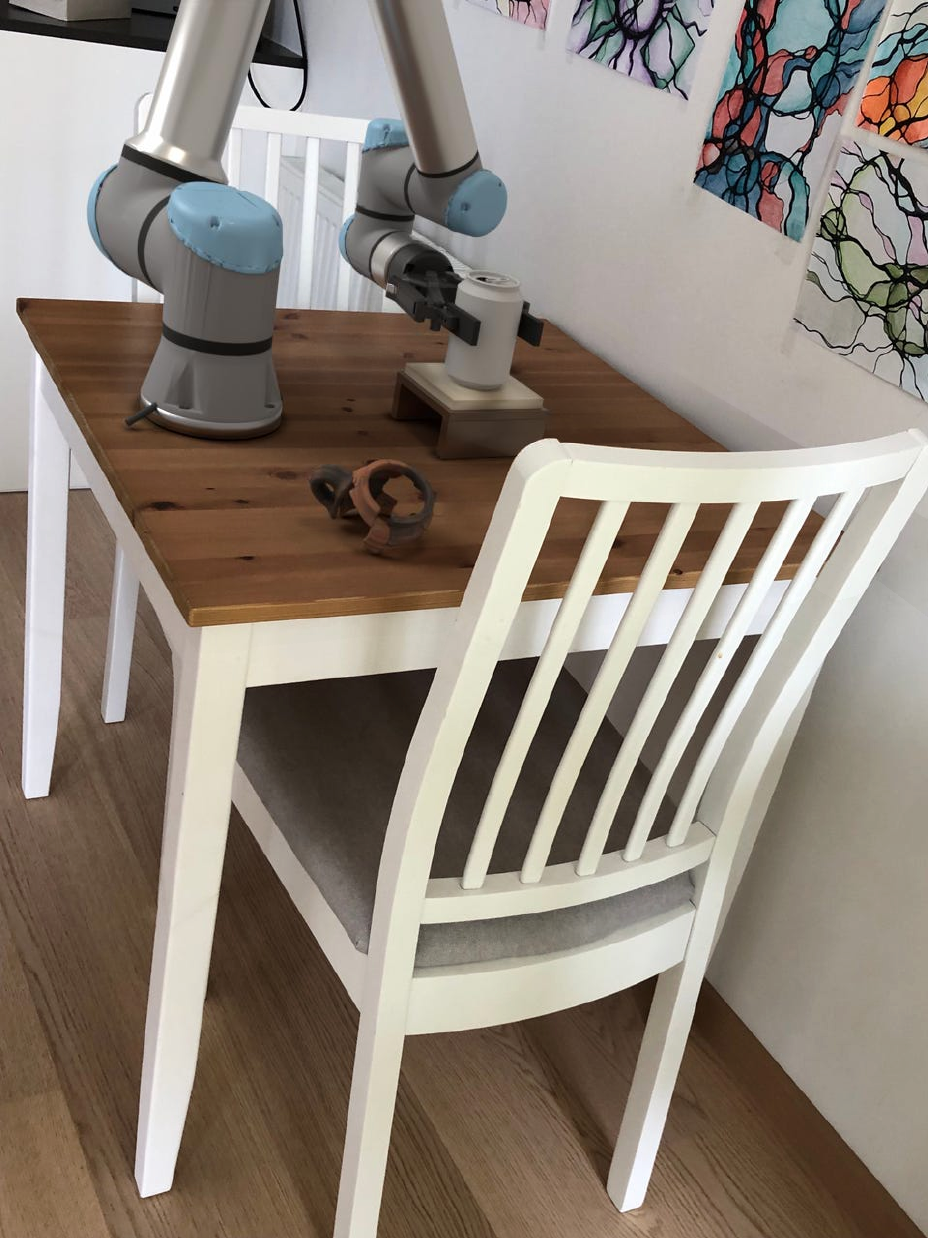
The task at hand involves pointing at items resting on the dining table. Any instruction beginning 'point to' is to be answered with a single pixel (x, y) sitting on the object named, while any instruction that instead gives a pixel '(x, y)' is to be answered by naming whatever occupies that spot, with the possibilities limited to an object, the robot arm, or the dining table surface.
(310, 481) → the broken clay pot
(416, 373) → the bench
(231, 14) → the robot arm
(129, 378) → the dining table surface
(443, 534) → the dining table surface
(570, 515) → the dining table surface
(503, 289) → the can
